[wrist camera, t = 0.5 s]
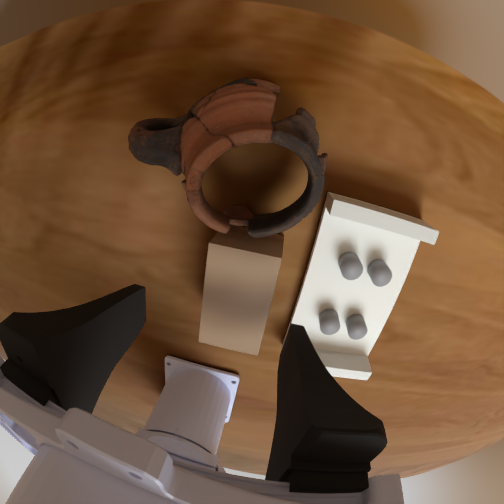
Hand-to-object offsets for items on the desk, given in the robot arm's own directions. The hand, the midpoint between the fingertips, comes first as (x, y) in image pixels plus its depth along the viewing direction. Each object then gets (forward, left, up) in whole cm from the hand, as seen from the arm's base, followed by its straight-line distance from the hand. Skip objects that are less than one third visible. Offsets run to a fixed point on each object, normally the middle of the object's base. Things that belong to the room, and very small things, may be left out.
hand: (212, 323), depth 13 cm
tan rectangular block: (-2, -1, -10) cm, 10 cm away
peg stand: (-1, -9, -9) cm, 13 cm away
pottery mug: (+8, +2, -10) cm, 12 cm away
